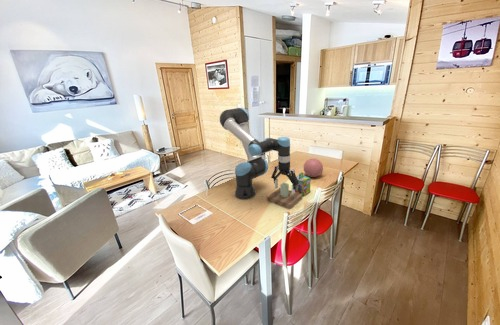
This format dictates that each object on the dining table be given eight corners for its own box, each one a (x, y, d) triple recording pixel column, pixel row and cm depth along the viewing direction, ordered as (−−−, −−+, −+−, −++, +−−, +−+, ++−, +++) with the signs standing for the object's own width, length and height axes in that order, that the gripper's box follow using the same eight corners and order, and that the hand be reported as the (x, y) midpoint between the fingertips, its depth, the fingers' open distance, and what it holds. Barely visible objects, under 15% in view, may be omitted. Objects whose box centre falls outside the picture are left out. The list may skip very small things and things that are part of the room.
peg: (280, 200, 145) (280, 184, 141) (283, 197, 148) (283, 182, 144) (285, 202, 143) (285, 186, 138) (288, 199, 145) (288, 183, 141)
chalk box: (303, 196, 147) (303, 177, 142) (292, 192, 154) (292, 174, 149) (310, 191, 153) (311, 173, 148) (300, 188, 160) (300, 170, 154)
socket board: (267, 200, 146) (267, 196, 144) (280, 191, 157) (280, 187, 155) (289, 209, 134) (289, 204, 133) (302, 198, 145) (302, 194, 144)
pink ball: (328, 173, 180) (329, 156, 175) (316, 181, 167) (317, 163, 162) (312, 169, 191) (312, 153, 185) (299, 177, 178) (300, 159, 173)
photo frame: (193, 224, 126) (177, 213, 138) (193, 225, 126) (178, 214, 138) (212, 212, 135) (197, 203, 147) (212, 214, 136) (197, 205, 148)
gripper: (265, 159, 141) (266, 187, 148) (298, 166, 125) (298, 198, 132) (272, 156, 146) (273, 183, 153) (304, 163, 130) (304, 193, 137)
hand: (284, 190), depth 143 cm, fingers open, 13 cm apart
